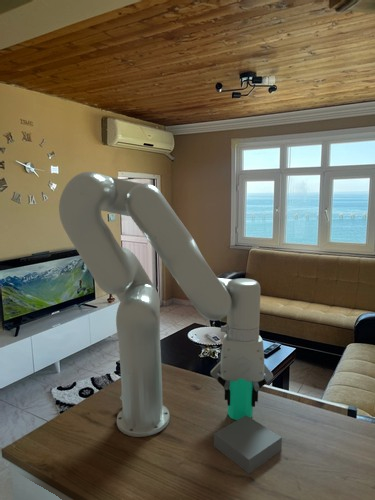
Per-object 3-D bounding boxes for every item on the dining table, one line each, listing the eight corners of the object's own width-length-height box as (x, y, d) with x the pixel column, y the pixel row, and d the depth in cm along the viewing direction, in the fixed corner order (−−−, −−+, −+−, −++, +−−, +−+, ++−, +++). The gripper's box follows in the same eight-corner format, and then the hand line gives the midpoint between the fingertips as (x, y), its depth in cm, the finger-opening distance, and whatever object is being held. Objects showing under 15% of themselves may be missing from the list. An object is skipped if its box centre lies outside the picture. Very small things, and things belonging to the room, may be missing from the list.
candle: (252, 422, 84) (253, 374, 82) (226, 419, 85) (227, 371, 84) (252, 407, 90) (254, 362, 88) (228, 405, 91) (229, 360, 90)
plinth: (214, 446, 77) (213, 433, 77) (246, 427, 83) (246, 415, 83) (249, 473, 69) (249, 459, 69) (281, 450, 76) (281, 437, 75)
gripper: (205, 336, 82) (205, 410, 84) (282, 339, 80) (279, 414, 83) (206, 324, 89) (206, 392, 92) (277, 327, 88) (274, 396, 90)
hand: (240, 402), depth 87 cm, fingers closed on candle, 5 cm apart
